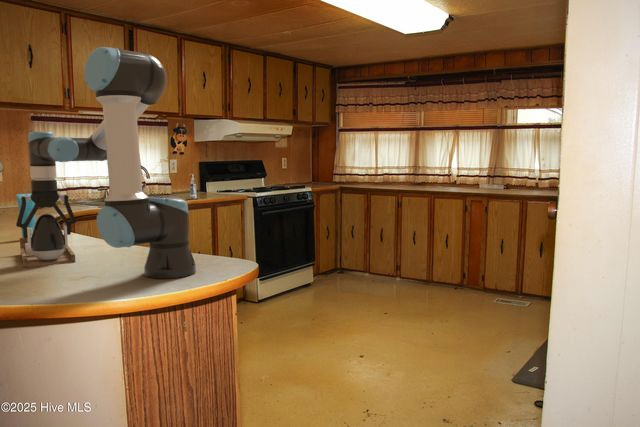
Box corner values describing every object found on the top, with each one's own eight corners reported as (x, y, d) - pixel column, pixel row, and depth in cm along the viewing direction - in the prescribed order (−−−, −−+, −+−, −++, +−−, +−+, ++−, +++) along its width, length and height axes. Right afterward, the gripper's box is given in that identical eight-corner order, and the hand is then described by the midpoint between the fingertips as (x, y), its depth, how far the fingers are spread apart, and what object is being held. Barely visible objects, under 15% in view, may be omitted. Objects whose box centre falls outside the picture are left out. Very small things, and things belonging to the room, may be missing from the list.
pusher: (65, 251, 187) (65, 240, 187) (26, 255, 181) (25, 244, 180) (63, 248, 194) (62, 237, 194) (24, 251, 188) (24, 240, 187)
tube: (33, 237, 222) (30, 192, 220) (41, 238, 220) (38, 193, 218) (16, 240, 216) (13, 194, 213) (24, 241, 214) (20, 194, 211)
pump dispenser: (52, 262, 169) (49, 215, 167) (24, 261, 171) (21, 215, 169) (73, 256, 179) (70, 212, 177) (46, 255, 181) (43, 211, 179)
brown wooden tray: (75, 262, 176) (74, 244, 175) (24, 267, 168) (22, 248, 167) (66, 250, 196) (66, 234, 195) (20, 254, 188) (19, 237, 187)
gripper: (80, 177, 181) (83, 241, 183) (3, 179, 169) (8, 247, 171) (83, 178, 174) (86, 244, 177) (3, 181, 162) (8, 251, 165)
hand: (48, 246), depth 174 cm, fingers closed on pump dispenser, 10 cm apart
